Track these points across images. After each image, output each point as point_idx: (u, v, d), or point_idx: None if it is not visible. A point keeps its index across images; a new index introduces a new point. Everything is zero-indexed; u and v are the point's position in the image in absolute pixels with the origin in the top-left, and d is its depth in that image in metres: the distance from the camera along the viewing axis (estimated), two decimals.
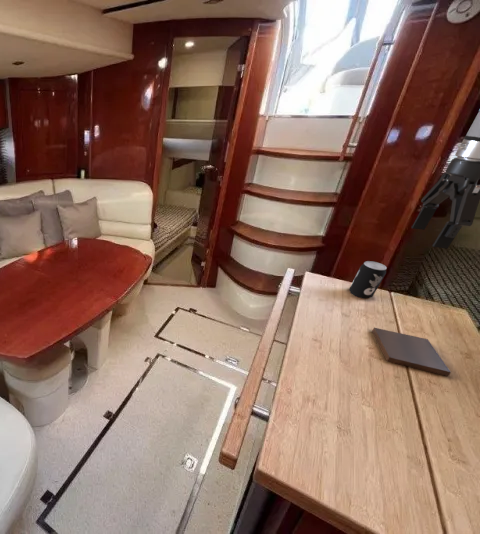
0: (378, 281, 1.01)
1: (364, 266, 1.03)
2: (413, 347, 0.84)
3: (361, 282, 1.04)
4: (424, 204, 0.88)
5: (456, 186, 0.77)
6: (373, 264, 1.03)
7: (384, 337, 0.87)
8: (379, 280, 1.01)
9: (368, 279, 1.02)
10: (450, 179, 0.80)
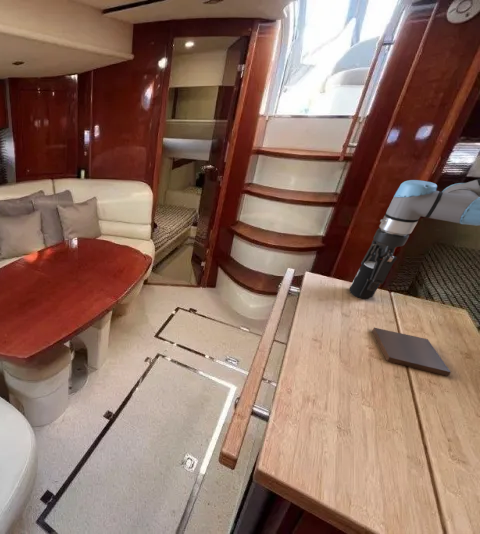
0: None
1: (364, 266, 1.03)
2: (413, 347, 0.84)
3: (361, 282, 1.04)
4: None
5: (380, 251, 0.98)
6: (373, 264, 1.03)
7: (384, 337, 0.87)
8: None
9: None
10: (378, 243, 1.01)
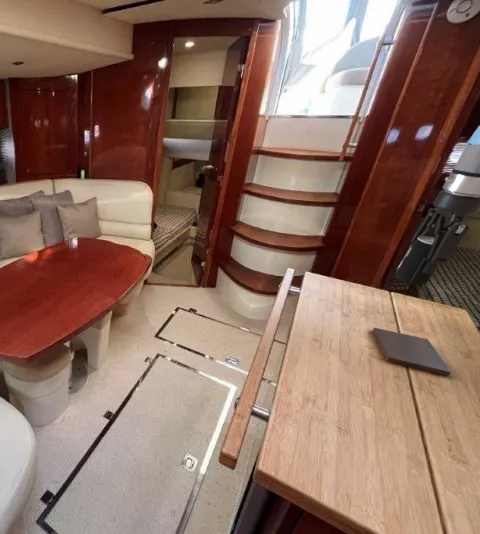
0: None
1: (418, 242, 0.79)
2: (413, 347, 0.84)
3: (413, 262, 0.80)
4: None
5: (443, 221, 0.74)
6: (430, 239, 0.79)
7: (384, 337, 0.87)
8: None
9: None
10: (438, 211, 0.77)
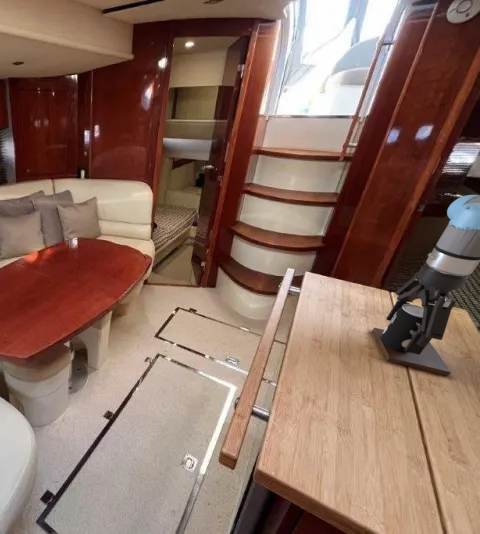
0: None
1: (403, 312, 0.80)
2: None
3: (398, 331, 0.81)
4: (398, 298, 0.86)
5: (427, 293, 0.75)
6: (414, 309, 0.80)
7: None
8: None
9: (409, 328, 0.79)
10: (422, 282, 0.78)
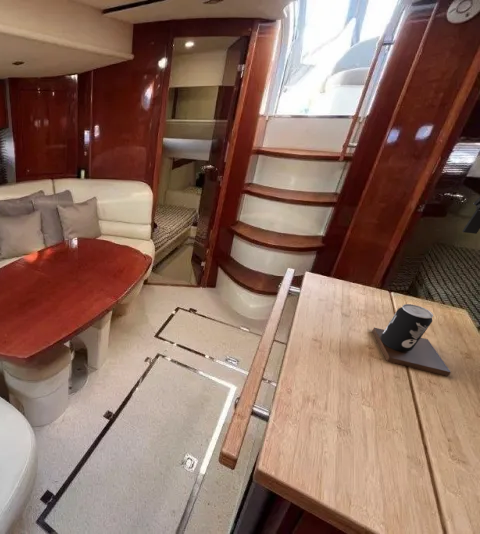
0: (422, 332, 0.78)
1: (403, 312, 0.80)
2: None
3: (398, 331, 0.81)
4: (477, 207, 0.86)
5: None
6: (414, 309, 0.80)
7: None
8: (423, 330, 0.78)
9: (409, 328, 0.79)
10: None
